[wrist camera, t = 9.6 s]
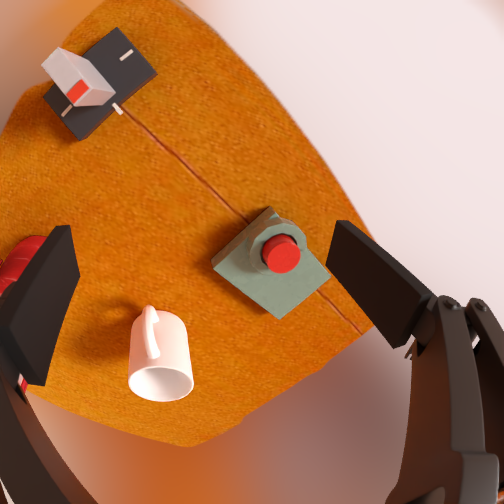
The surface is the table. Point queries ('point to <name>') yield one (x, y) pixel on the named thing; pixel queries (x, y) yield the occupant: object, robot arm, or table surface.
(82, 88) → the knob
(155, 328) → the mug
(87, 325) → the table surface
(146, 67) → the panel
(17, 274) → the water bottle
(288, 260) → the button
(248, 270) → the housing
